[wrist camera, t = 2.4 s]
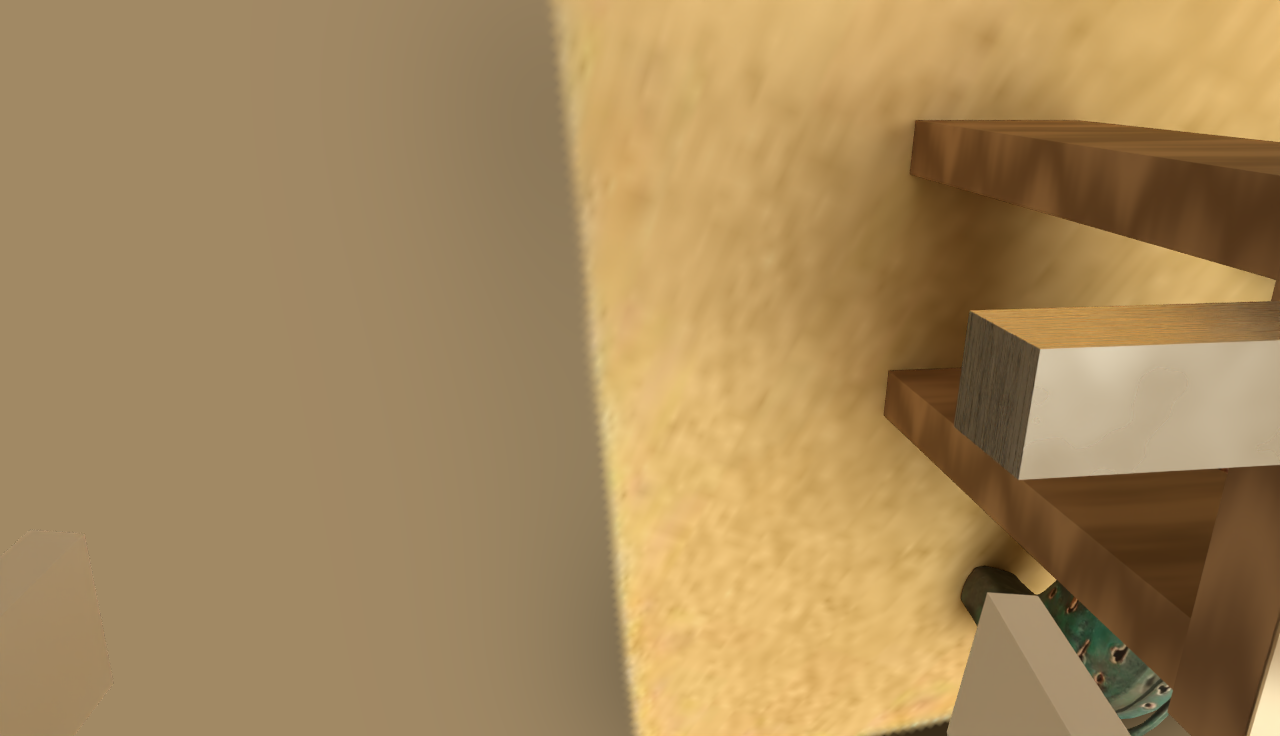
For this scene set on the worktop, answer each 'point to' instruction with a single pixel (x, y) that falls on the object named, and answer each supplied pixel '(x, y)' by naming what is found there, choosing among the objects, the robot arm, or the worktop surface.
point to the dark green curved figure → (1085, 646)
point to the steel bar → (1123, 388)
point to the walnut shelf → (1136, 502)
